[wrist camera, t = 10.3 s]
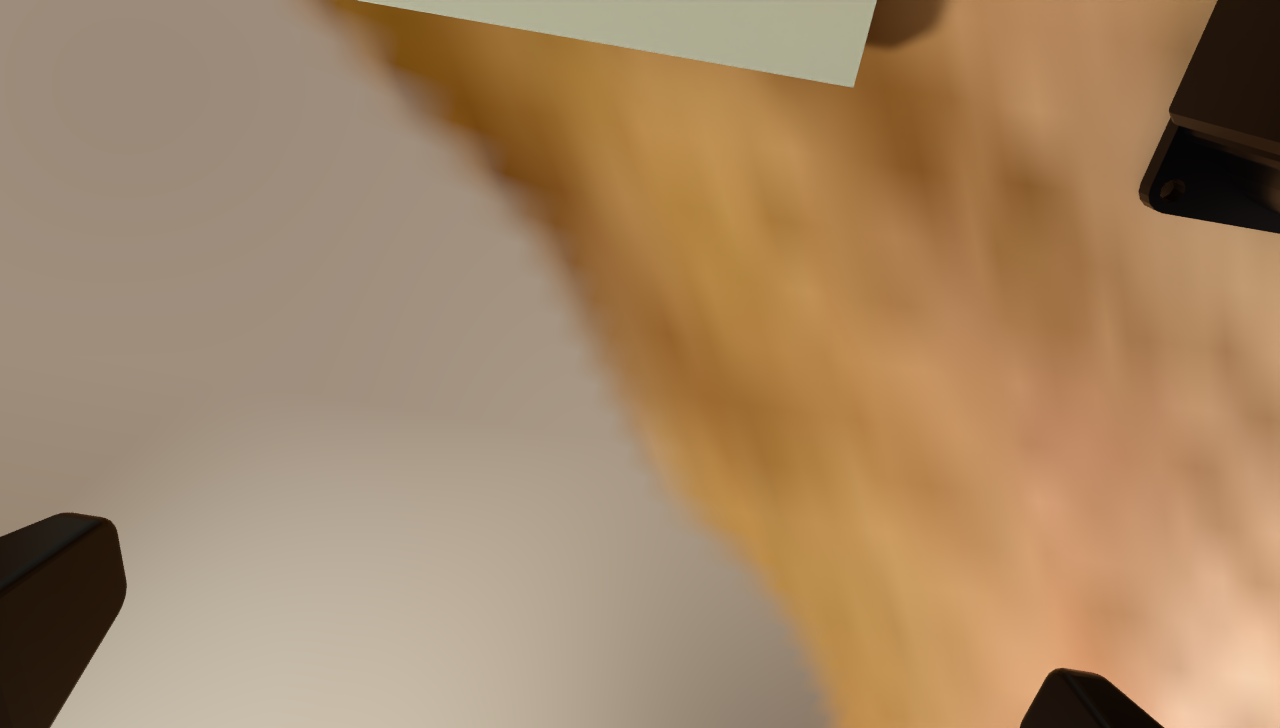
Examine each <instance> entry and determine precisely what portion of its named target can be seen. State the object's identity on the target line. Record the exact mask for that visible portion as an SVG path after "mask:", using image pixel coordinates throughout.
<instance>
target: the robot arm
mask: <svg viewBox="0 0 1280 728" xmlns="http://www.w3.org/2000/svg"><path fill="white" fill-rule="evenodd" d="M1169 113H1170V116H1171V117H1170V120H1169V122H1168V124H1167V126H1166V129H1165V131H1164V133H1163V135H1162V137H1161V140H1160V142H1159V144H1158V146H1157V148H1156V151H1155V153H1154V155H1153V157H1152V159H1151V162H1150V164H1149V166H1148V168H1147V170H1146V173H1145V175H1144V177H1143V179H1142V182H1141V184H1140V188H1139V196H1140V200H1141V201H1142V202H1143V203H1144V205H1145V206H1147V207H1149V208H1152V209H1154V210H1156V211H1158V212H1161V213H1164V214H1170V215H1176V216H1181V217H1187V218H1193V219H1199V220H1204V221H1210V222H1216V223H1222V224H1227V225H1233V226H1239V227H1245V228H1250V229H1256V230H1262V231H1268V232H1273V233H1279V234H1280V0H1218V1H1217V3H1216V5H1215V8H1214V10H1213V12H1212V14H1211V17H1210V19H1209V21H1208V23H1207V25H1206V28H1205V30H1204V32H1203V34H1202V37H1201V39H1200V41H1199V43H1198V45H1197V48H1196V50H1195V52H1194V54H1193V57H1192V59H1191V61H1190V63H1189V65H1188V68H1187V70H1186V72H1185V74H1184V77H1183V79H1182V81H1181V83H1180V85H1179V88H1178V90H1177V92H1176V94H1175V97H1174V99H1173V101H1172V103H1171V106H1170V108H1169ZM1171 180H1174V181H1175V185H1174V189H1173V190H1172V192H1171V193H1170V194H1169V195H1167V196H1165V197H1163V198H1161V196H1160V193H1161V189H1162V187H1163V186H1164V185H1165V183H1167V182H1169V181H1171ZM126 588H127V583H126V577H125V571H124V566H123V561H122V555H121V550H120V544H119V539H118V533H117V529H116V527H115V525H114V524H113V523H112V522H111V521H110V520H108V519H106V518H103V517H97V516H91V515H84V514H78V513H60V514H57V515H54V516H51V517H49V518H46V519H44V520H41V521H39V522H36V523H34V524H31V525H29V526H26V527H24V528H21V529H19V530H16V531H14V532H11V533H9V534H7V535H4V536H1V537H0V728H50V727H51V725H52V723H53V722H54V720H55V719H56V717H57V715H58V713H59V712H60V710H61V709H62V707H63V705H64V704H65V702H66V700H67V698H68V697H69V695H70V694H71V692H72V690H73V688H74V687H75V685H76V684H77V682H78V680H79V678H80V677H81V675H82V674H83V672H84V670H85V668H86V667H87V665H88V664H89V662H90V660H91V658H92V657H93V655H94V653H95V652H96V650H97V649H98V647H99V645H100V643H101V642H102V640H103V639H104V637H105V635H106V633H107V632H108V630H109V628H110V627H111V625H112V624H113V622H114V620H115V618H116V617H117V615H118V613H119V611H120V609H121V607H122V605H123V602H124V599H125V596H126ZM1020 728H1164V727H1163V726H1161V725H1160V724H1159V723H1158V722H1157V721H1156V720H1154V719H1153V718H1152V717H1151V716H1150V715H1148V714H1147V713H1146V712H1145V711H1144V710H1143V709H1141V708H1140V707H1139V706H1138V705H1137V704H1135V703H1134V702H1133V701H1132V700H1131V699H1130V698H1128V697H1127V696H1126V695H1125V694H1124V693H1122V692H1121V691H1120V690H1119V689H1118V688H1117V687H1115V686H1114V685H1113V684H1112V683H1111V682H1109V681H1108V680H1107V679H1106V678H1104V677H1102V676H1101V675H1098V674H1095V673H1091V672H1085V671H1079V670H1072V669H1066V668H1058V669H1055V670H1053V671H1052V672H1050V673H1049V674H1048V676H1047V677H1046V679H1045V680H1044V682H1043V684H1042V686H1041V688H1040V689H1039V691H1038V693H1037V695H1036V697H1035V698H1034V700H1033V702H1032V704H1031V706H1030V707H1029V709H1028V711H1027V713H1026V714H1025V716H1024V718H1023V720H1022V722H1021V725H1020Z"/></svg>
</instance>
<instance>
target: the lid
mask: <svg viewBox="0 0 1280 728" xmlns="http://www.w3.org/2000/svg"><path fill="white" fill-rule="evenodd" d="M358 1H364V2H370V3H375V4H381V5H387V6H392V7H398V8H404V9H409V10H415V11H421V12H426V13H432V14H438V15H444V16H449V17H455V18H461V19H466V20H472V21H478V22H483V23H489V24H495V25H500V26H506V27H512V28H517V29H523V30H529V31H535V32H540V33H546V34H552V35H557V36H563V37H569V38H574V39H580V40H586V41H591V42H597V43H603V44H609V45H614V46H620V47H626V48H631V49H637V50H643V51H648V52H654V53H660V54H665V55H671V56H677V57H682V58H688V59H694V60H700V61H705V62H711V63H717V64H722V65H728V66H734V67H739V68H745V69H751V70H756V71H762V72H768V73H773V74H779V75H785V76H791V77H796V78H802V79H808V80H813V81H819V82H825V83H830V84H836V85H842V86H847V87H854V83H855V80H856V76H857V72H858V69H859V65H860V61H861V57H862V54H863V50H864V46H865V43H866V39H867V35H868V31H869V28H870V24H871V20H872V17H873V13H874V9H875V5H876V2H877V0H358Z"/></svg>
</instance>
